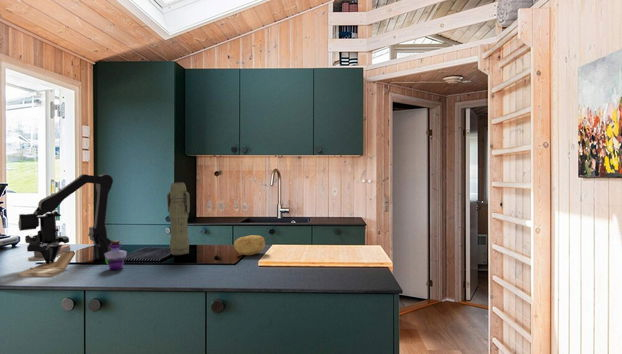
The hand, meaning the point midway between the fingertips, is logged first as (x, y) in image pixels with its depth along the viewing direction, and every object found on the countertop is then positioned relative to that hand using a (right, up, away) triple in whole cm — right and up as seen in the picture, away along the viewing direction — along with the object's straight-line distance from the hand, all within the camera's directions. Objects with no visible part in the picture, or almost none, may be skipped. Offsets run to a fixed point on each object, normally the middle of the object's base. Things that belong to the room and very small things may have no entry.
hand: (50, 263), depth 179 cm
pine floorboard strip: (+4, -2, -11) cm, 12 cm away
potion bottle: (+31, -2, -4) cm, 31 cm away
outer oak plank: (0, -2, -3) cm, 3 cm away
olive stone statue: (+49, 0, +25) cm, 54 cm away
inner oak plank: (+8, +1, -3) cm, 9 cm away
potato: (+84, 0, +19) cm, 87 cm away
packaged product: (-13, -2, +22) cm, 26 cm away
